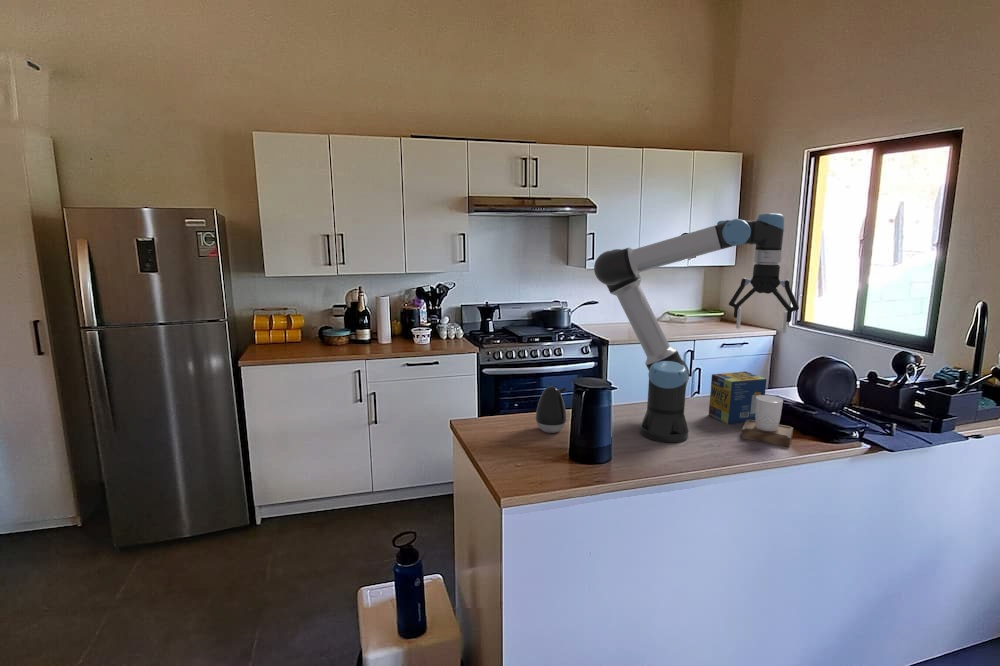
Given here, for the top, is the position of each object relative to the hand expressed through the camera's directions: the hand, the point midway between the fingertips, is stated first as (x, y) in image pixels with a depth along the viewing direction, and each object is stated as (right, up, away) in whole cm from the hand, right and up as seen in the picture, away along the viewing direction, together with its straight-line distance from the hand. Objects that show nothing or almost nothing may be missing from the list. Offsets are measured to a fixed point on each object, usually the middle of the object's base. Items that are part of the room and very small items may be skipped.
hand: (760, 330), depth 177 cm
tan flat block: (+3, -35, +2) cm, 35 cm away
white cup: (+3, -32, +2) cm, 32 cm away
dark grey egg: (-67, -34, +7) cm, 75 cm away
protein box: (+1, -32, +21) cm, 38 cm away
